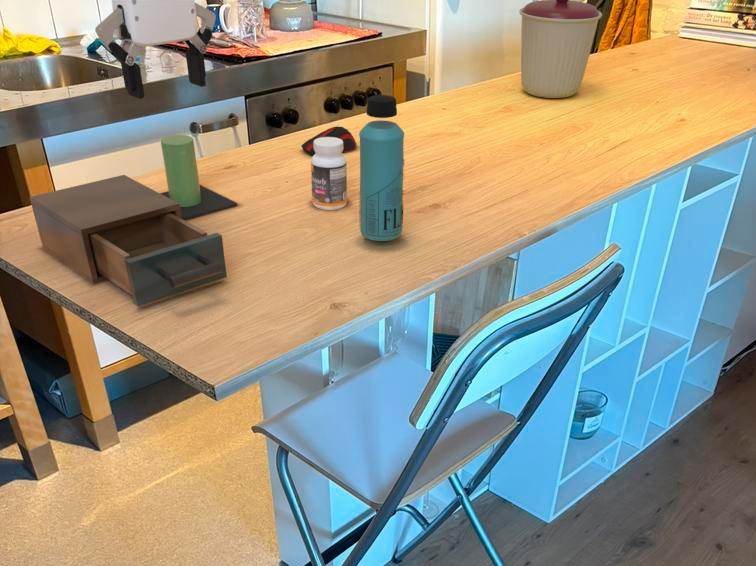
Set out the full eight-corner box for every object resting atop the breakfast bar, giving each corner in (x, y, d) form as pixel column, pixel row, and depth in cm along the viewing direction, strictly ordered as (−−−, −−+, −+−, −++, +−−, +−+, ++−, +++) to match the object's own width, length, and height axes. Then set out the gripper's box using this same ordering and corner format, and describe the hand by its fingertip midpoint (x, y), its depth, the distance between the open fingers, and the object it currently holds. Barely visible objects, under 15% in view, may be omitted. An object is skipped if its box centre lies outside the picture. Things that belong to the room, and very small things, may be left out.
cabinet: (187, 256, 117) (179, 203, 112) (93, 285, 109) (80, 229, 104) (133, 225, 125) (124, 174, 121) (43, 249, 118) (29, 196, 113)
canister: (605, 97, 187) (624, -10, 174) (543, 107, 180) (558, -4, 167) (555, 80, 199) (569, -22, 185) (495, 88, 192) (505, -17, 178)
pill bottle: (305, 204, 133) (302, 140, 127) (332, 196, 136) (330, 133, 130) (327, 214, 130) (325, 149, 124) (354, 205, 133) (353, 141, 127)
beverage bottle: (382, 255, 118) (384, 106, 105) (349, 242, 121) (347, 96, 108) (411, 242, 122) (416, 97, 109) (379, 230, 125) (380, 88, 112)
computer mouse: (297, 152, 154) (296, 130, 151) (341, 141, 159) (340, 119, 157) (318, 160, 150) (317, 138, 148) (362, 149, 156) (362, 126, 153)
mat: (173, 224, 126) (172, 220, 125) (134, 203, 132) (134, 199, 132) (237, 206, 132) (237, 203, 132) (197, 187, 139) (197, 183, 138)
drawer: (246, 288, 107) (241, 245, 103) (156, 319, 100) (147, 274, 96) (170, 244, 118) (164, 204, 114) (85, 269, 111) (75, 228, 107)
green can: (180, 209, 129) (171, 146, 123) (164, 200, 132) (154, 138, 126) (207, 202, 132) (199, 140, 126) (191, 193, 134) (182, 132, 128)
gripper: (188, -69, 107) (205, 75, 118) (65, -60, 97) (96, 95, 109) (221, -64, 103) (235, 85, 114) (96, -54, 93) (125, 107, 105)
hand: (167, 90), depth 111 cm, fingers open, 9 cm apart
